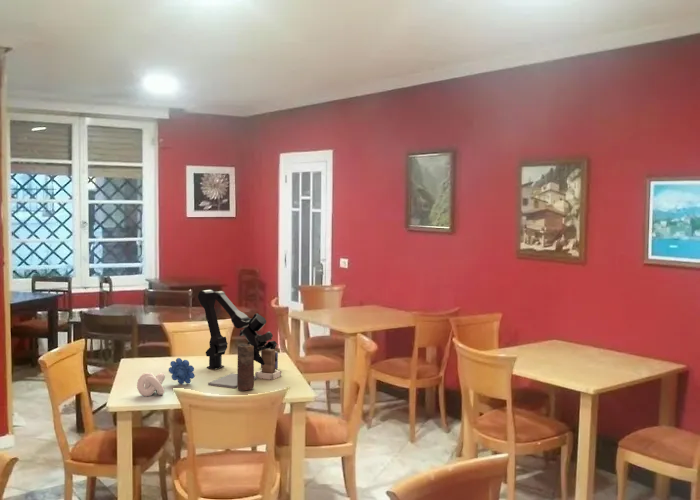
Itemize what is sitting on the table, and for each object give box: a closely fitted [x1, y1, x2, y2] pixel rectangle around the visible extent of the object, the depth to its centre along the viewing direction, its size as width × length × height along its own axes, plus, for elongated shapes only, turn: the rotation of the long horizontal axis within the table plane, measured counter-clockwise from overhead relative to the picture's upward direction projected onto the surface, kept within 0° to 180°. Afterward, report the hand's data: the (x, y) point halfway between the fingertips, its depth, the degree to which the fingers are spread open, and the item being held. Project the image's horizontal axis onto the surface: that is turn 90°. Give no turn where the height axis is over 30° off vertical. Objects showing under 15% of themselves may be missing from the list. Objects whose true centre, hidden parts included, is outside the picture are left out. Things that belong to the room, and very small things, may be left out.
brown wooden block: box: [261, 349, 276, 374], centre depth 331 cm, size 4×5×13 cm
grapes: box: [168, 357, 196, 385], centre depth 314 cm, size 12×7×12 cm, turn 95°
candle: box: [236, 343, 255, 392], centre depth 308 cm, size 8×7×20 cm
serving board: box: [207, 372, 259, 389], centre depth 322 cm, size 20×14×1 cm
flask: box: [260, 350, 279, 370], centre depth 348 cm, size 9×3×11 cm, turn 68°
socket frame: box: [254, 369, 282, 380], centre depth 331 cm, size 8×9×2 cm
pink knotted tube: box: [136, 372, 166, 397], centre depth 298 cm, size 11×12×9 cm
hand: (270, 362), depth 330 cm, fingers open, 9 cm apart
